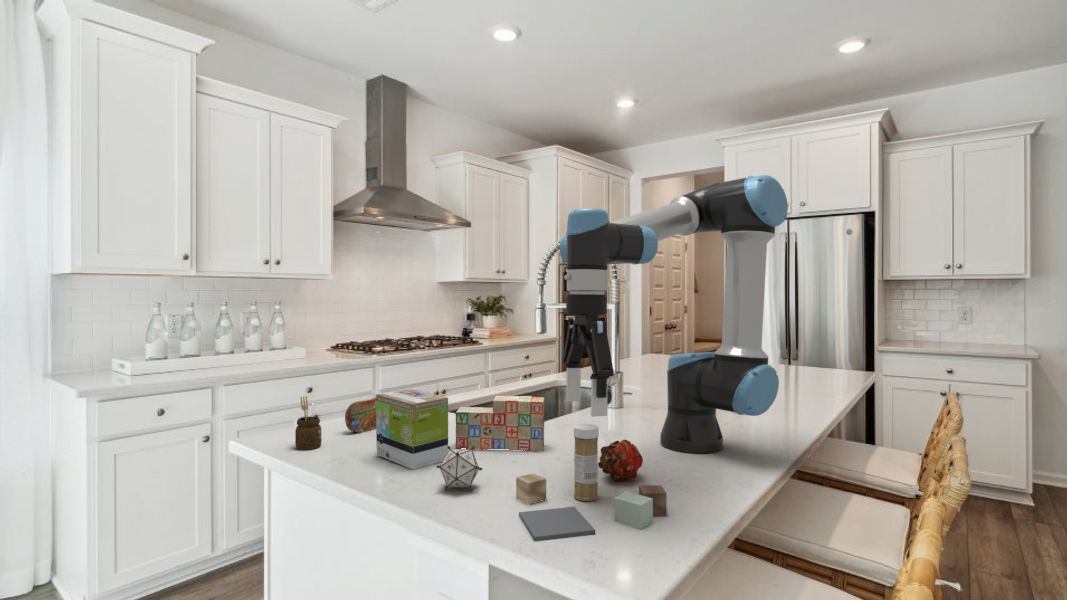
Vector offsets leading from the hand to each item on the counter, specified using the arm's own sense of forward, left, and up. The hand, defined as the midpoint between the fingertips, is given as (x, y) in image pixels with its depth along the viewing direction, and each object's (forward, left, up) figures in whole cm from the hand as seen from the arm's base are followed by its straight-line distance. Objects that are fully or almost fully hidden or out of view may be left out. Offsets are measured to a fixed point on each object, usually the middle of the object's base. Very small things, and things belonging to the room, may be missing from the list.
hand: (585, 408), depth 105 cm
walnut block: (-9, +9, -17) cm, 21 cm away
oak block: (+10, -2, -17) cm, 20 cm away
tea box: (+30, -33, -17) cm, 48 cm away
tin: (+40, -64, -17) cm, 77 cm away
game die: (+22, -11, -17) cm, 30 cm away
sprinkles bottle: (0, 0, -17) cm, 17 cm away
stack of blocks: (+8, -37, -17) cm, 42 cm away
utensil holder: (+54, -49, -17) cm, 75 cm away
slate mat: (+9, +10, -17) cm, 21 cm away
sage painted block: (-4, +12, -17) cm, 21 cm away
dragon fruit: (-11, -9, -17) cm, 22 cm away
